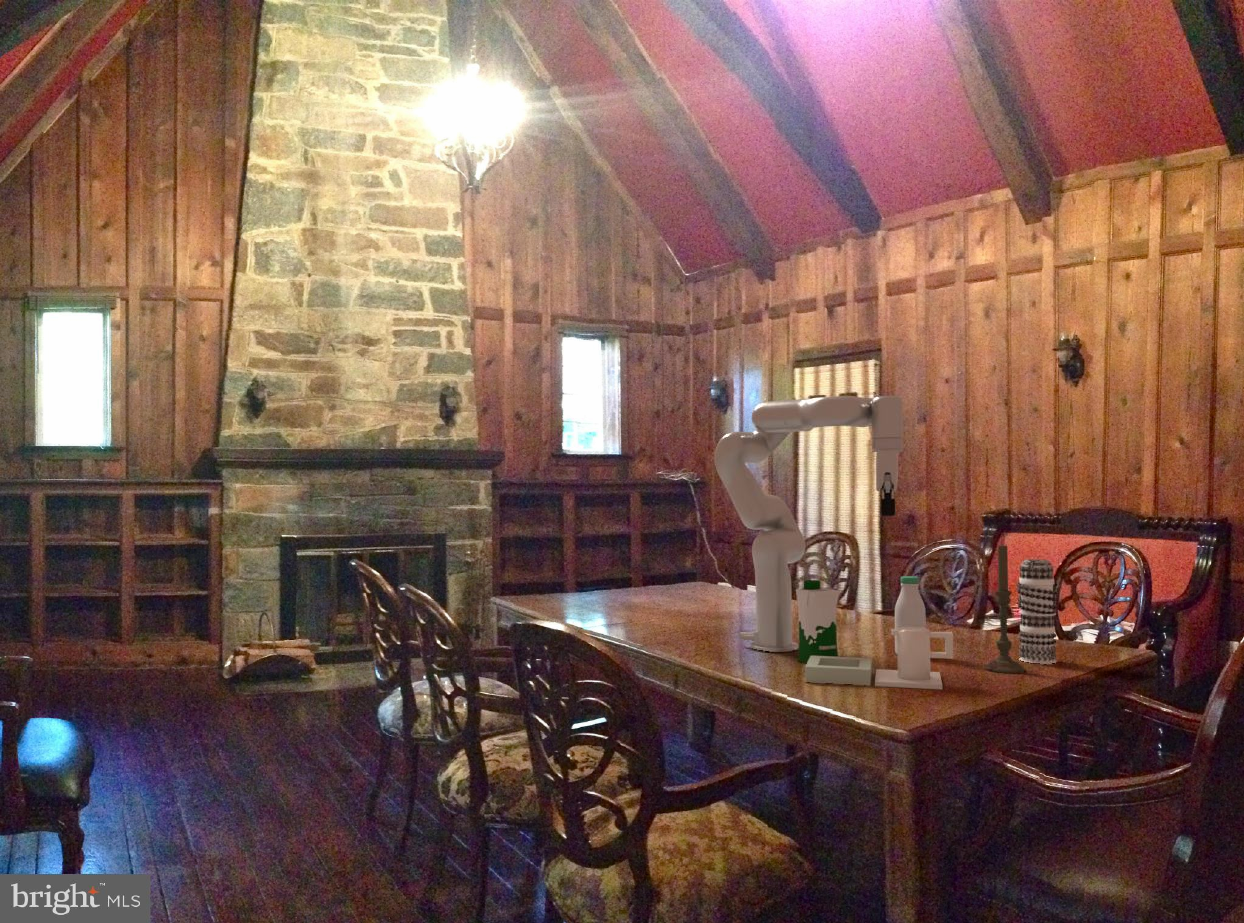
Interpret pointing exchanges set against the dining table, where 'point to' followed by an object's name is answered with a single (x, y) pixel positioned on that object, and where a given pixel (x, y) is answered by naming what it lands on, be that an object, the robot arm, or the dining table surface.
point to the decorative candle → (1037, 611)
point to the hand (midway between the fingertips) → (888, 515)
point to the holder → (839, 670)
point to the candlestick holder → (1003, 620)
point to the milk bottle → (909, 606)
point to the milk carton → (817, 621)
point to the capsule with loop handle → (918, 651)
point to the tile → (892, 680)
